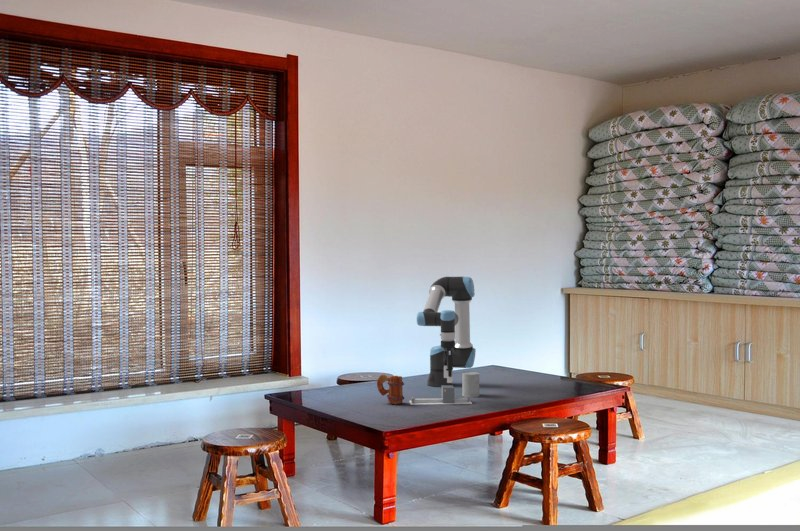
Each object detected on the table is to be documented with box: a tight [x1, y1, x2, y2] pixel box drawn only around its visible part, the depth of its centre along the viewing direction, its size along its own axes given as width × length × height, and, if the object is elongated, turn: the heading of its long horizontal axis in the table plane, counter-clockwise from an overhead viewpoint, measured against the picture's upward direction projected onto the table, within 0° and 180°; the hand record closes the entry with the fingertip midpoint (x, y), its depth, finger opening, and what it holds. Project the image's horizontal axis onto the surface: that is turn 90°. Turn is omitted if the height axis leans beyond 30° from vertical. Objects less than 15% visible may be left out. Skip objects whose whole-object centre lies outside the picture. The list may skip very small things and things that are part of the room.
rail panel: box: [408, 396, 473, 406], centre depth 406 cm, size 9×32×3 cm, turn 94°
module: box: [440, 384, 456, 403], centre depth 406 cm, size 7×6×8 cm
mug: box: [376, 374, 405, 405], centre depth 405 cm, size 15×8×15 cm, turn 73°
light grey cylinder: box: [461, 371, 480, 398], centre depth 426 cm, size 10×10×12 cm
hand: (448, 380), depth 407 cm, fingers open, 13 cm apart
